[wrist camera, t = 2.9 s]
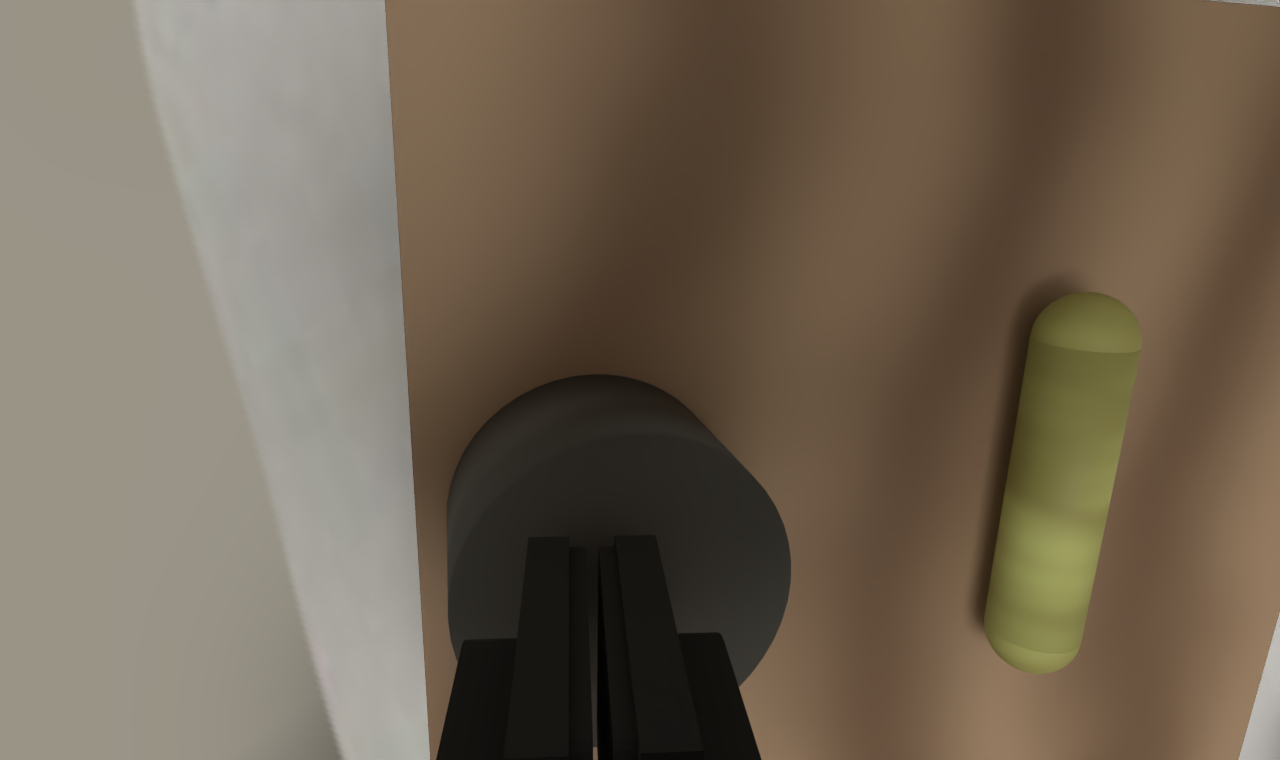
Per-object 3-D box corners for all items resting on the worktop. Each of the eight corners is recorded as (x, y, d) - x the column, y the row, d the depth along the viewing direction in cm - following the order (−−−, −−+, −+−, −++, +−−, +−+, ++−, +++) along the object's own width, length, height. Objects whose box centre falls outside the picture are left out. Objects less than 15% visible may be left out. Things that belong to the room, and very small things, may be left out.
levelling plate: (1377, 30, 17) (1666, -8, 13) (1192, 741, 22) (1359, 872, 18) (386, -51, 12) (359, -149, 8) (440, 880, 17) (440, 1100, 13)
